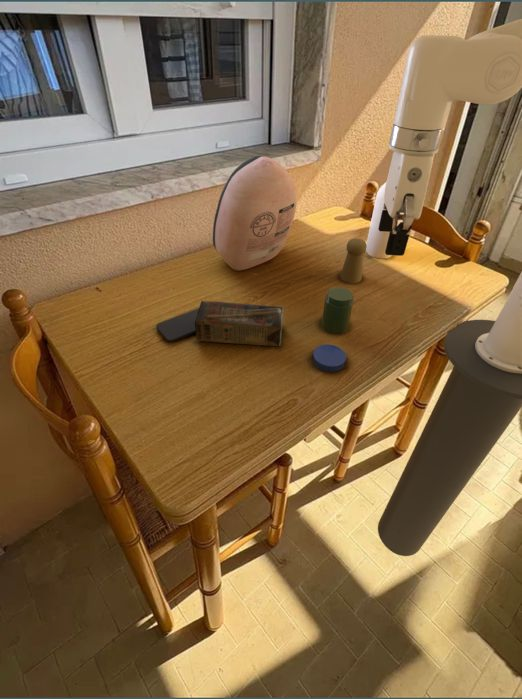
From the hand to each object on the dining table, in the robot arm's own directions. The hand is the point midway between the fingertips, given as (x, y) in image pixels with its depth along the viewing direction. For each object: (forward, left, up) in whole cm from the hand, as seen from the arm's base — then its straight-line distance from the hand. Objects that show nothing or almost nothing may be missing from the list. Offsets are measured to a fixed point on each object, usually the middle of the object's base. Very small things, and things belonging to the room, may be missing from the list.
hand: (390, 242), depth 70 cm
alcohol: (+11, -44, -24) cm, 51 cm away
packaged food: (+40, -17, -24) cm, 50 cm away
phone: (+37, +16, -24) cm, 47 cm away
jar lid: (+4, +10, -23) cm, 25 cm away
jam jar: (+8, -2, -24) cm, 26 cm away
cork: (+13, -25, -24) cm, 37 cm away
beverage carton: (+25, +13, -24) cm, 37 cm away
